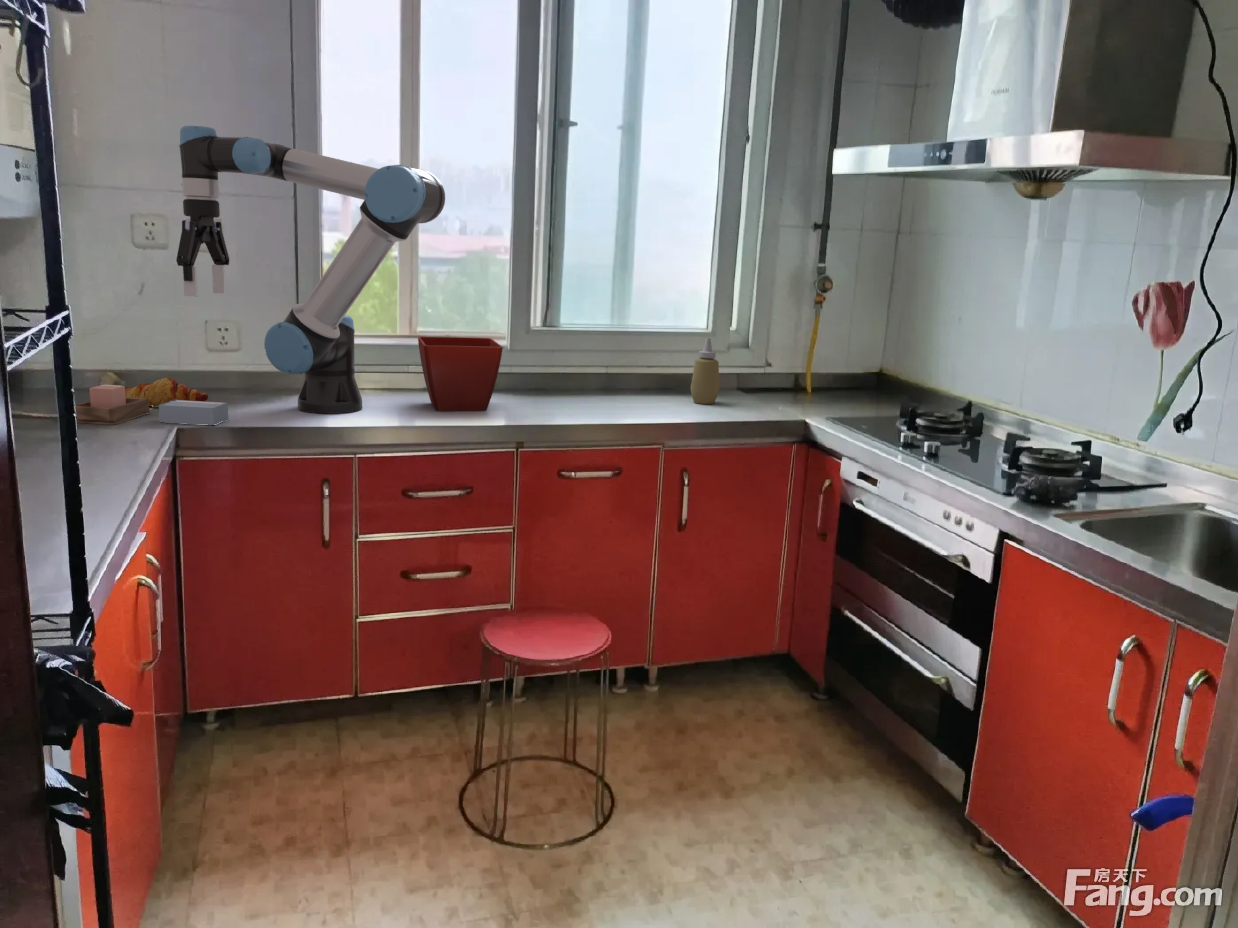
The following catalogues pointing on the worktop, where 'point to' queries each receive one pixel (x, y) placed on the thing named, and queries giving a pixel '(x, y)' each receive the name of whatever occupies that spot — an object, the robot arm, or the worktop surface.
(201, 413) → the grey flat block
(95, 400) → the pink block
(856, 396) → the worktop surface
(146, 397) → the croissant
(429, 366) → the plant pot
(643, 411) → the worktop surface
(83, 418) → the tray
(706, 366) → the squeeze bottle
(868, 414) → the worktop surface
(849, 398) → the worktop surface
